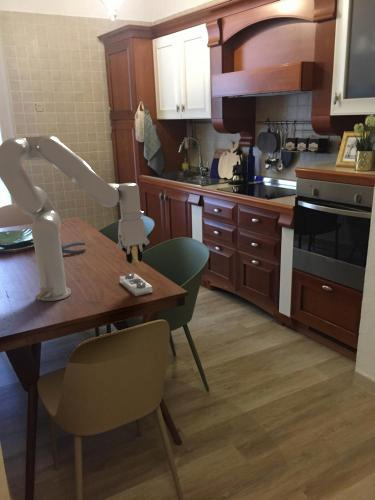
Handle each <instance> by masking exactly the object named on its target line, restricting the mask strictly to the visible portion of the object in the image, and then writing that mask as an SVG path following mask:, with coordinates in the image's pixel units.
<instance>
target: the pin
mask: <svg viewBox="0 0 375 500" xmlns="http://www.w3.org/2000/svg"><path fill="white" fill-rule="evenodd" d="M130 254H131V256H132V263H131V264H130V263H129V265H130V266H132V267H133V266H134V267H135V266H138V265H140V262H139V257H138V245H133V246H130Z"/></svg>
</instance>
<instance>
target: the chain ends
mask: <svg viewBox="0 0 375 500" xmlns="http://www.w3.org/2000/svg"><path fill="white" fill-rule="evenodd" d="M119 283H120V284H121V285H122V286H124V287H125V288H126V289H127V290H128V291H129V292H130V293H132V295H134V296H135V297H137V296H141V295H142V296H143V295H145V294H150V293H151V294H152V293H153V285H151V284H150V283H148V282H147V281H146V279H143V278H142V277H141V276H140V275H138V274H137V273H132V272H129V273H126V274H125V275H122V276H119Z"/></svg>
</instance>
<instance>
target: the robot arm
mask: <svg viewBox="0 0 375 500" xmlns="http://www.w3.org/2000/svg"><path fill="white" fill-rule="evenodd" d="M39 160H40V161H41V160H43V161H45V162H46V163H48V164H50V165H51V166H52V167H53V168H54V169H56V170H57V171H59V172H60V173H61V174H63V175H64V176H65V177H66V178H68V180H70V181H71V182H72V183H73V184H74V185H76V186H77V187H78V188H80V189H81V190H82V191H83V192H84V193H86V194H87V195H88V196H89V197H90V198H92V199H93V200H94V201H96V202H97V203H99V204H100V205H101V206H103V207H105V208H112V207H115V206H116V205H117V204H119V209H120V219H119V220H118V230H117V236H118V237H117V238H118V239H117V240H118V242H117V244H116V246H115V247H116V249H118V250H120V251H122V252H124V253H125V258H126V262H127V263H128V264H129V265H130V264H131V263H132V256H131V254H130V246H133V245H138V257H139V263H140V262H141V263H142V261H143V260H142V259H143V250H145V248H146V246H147V245H149V244H150V240H149V239H148V237H147V231H146V226H145V223H144V218H142V216H144V215H145V211H142V210H141V202H140V201H141V200H140V199H141V198H140V188H139V185H138V184H137V183H134V182H126V183H112V182H111V183H108V182H106V181H105V179H103V178H102V177H100V176H99V175H98V174H97V173H96V172H95V171H94V170H93V169H92V168H91V166H90V165H89V164H88V162H87V161H85V160H84V159H82V157H80V156H79V155H77V154H76V153H75V152H74V151H72V150H71V149H70V148H69V147H67V145H66V144H64V143H63V141H61V139H60V138H58V137H57V136H55V135H41V136H18V137H11V138H8V139H6V140H4V141H3V142H2V143H1V144H0V180H1V181H2V183H3V184H4V186H5V188H6V190H7V191H8V193H9V194H10V196H11V197H12V199H13V200H14V202H15V204H16V206H17V208H18V209H19V211H20V212H22V213H23V214H24V215H29V217H30V218H31V219H32V221H33V222H32V225H31V236H32V237H31V238H32V242H33V246H34V251H35V258H36V264H37V271H38V272H37V273H38V280H39V291H38V292H37V293H36V295H35V299H36V300H40V301H43V302H54V301H59V300H63V299H66V298H67V297H69V296H70V295H71V294H72V290H71V288H70V287H67V282H66V274H65V265H64V256H63V255H64V254H63V255H62V250H63V249H62V247H61V245H62V242H61V235H60V232H61V231H60V230H61V227H62V220H61V219H62V218H61V217H60V215H59V212H58V211H57V210H56V208H55V207H54V205H53V203H52V201H51V200H50V198H49V197H48V194H47V193H46V192H45V191H44V190H43V189H42V188H41V187H39V186H37V185H34V183H33V182H32V181H31V178H30V177H29V175H28V173H27V172H26V171H25V170H24V167H23V166H22V162H24V161H39Z"/></svg>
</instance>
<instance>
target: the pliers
mask: <svg viewBox="0 0 375 500" xmlns="http://www.w3.org/2000/svg"><path fill="white" fill-rule="evenodd" d="M77 246H86V243H85V242H83V241H82V242H81V241H76V242H71V243H68V244H64V245H62V244H61V247H62V255H64V254H71V255H73V254H75V255H76V254H82V253H85V252H86V251H87V250H86V248H84V249H77V250H73V249H71V250H70V249H68V248H71V247H77Z"/></svg>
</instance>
